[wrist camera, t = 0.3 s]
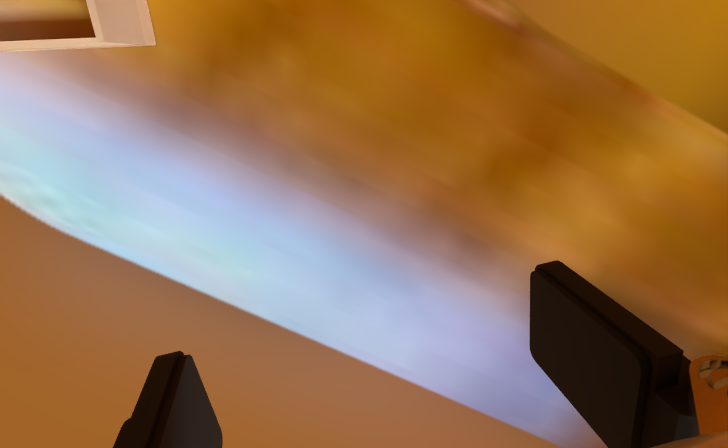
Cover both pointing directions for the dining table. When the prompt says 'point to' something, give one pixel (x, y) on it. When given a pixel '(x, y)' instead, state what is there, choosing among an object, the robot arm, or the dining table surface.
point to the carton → (101, 29)
